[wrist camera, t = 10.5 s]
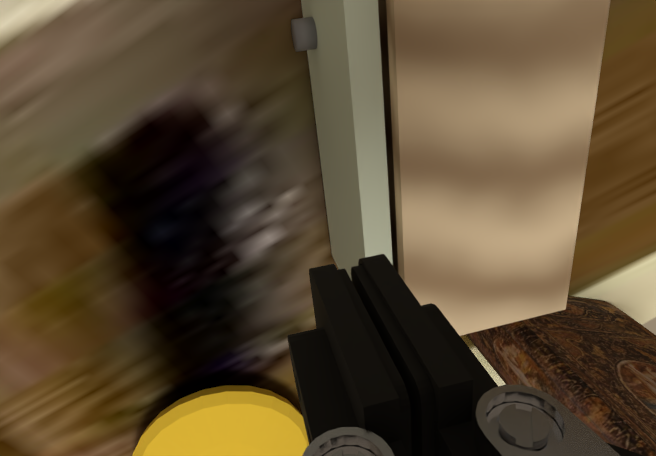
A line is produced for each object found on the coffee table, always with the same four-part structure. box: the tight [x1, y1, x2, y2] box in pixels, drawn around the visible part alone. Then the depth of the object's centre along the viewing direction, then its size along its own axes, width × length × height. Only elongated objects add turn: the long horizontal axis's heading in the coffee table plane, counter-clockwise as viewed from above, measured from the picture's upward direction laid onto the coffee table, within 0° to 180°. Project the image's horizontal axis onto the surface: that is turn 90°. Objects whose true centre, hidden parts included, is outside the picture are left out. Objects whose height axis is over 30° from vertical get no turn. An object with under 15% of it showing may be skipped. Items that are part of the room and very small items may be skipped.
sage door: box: [291, 0, 393, 281], centre depth 30 cm, size 20×3×12 cm, turn 6°
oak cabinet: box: [378, 0, 610, 336], centre depth 30 cm, size 22×11×12 cm, turn 6°
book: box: [466, 296, 656, 456], centre depth 36 cm, size 16×6×25 cm, turn 75°
